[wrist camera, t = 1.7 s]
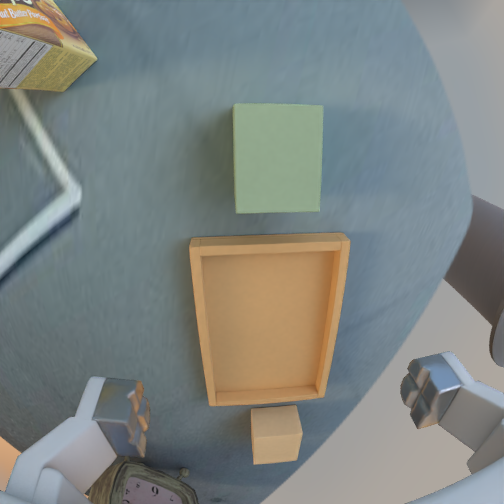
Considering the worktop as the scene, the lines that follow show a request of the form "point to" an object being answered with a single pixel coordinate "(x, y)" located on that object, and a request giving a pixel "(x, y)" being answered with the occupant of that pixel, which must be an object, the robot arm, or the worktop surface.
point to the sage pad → (277, 157)
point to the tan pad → (275, 434)
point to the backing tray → (268, 314)
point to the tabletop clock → (140, 486)
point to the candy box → (39, 47)
